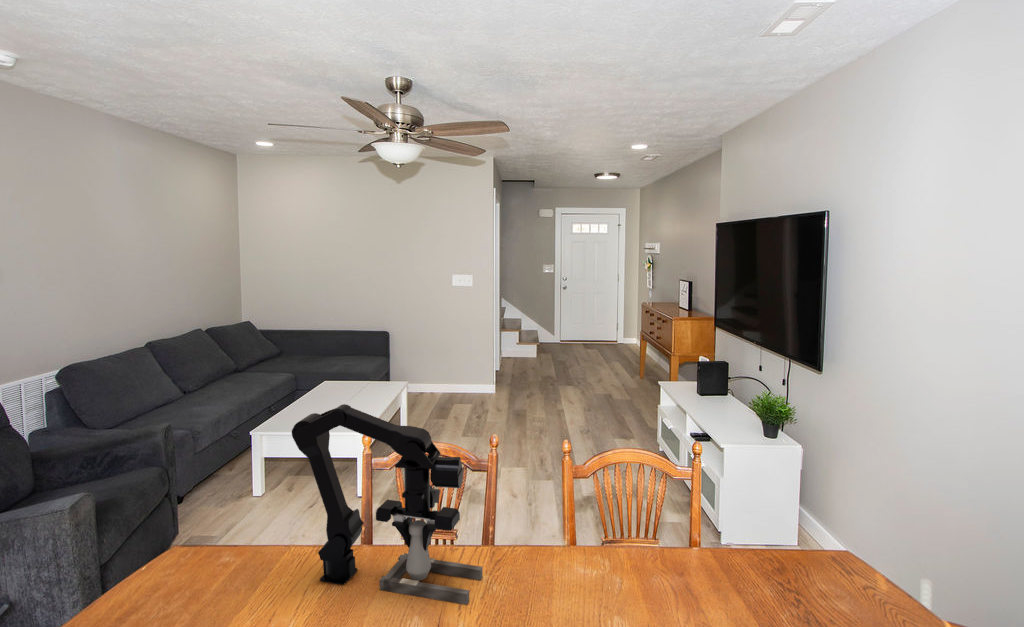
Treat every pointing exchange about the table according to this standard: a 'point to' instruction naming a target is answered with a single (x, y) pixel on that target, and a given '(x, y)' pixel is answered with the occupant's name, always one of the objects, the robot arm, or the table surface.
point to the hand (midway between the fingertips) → (418, 549)
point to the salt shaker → (417, 553)
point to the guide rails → (430, 590)
